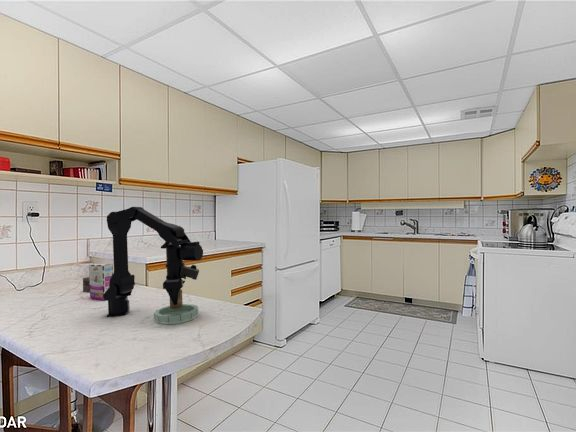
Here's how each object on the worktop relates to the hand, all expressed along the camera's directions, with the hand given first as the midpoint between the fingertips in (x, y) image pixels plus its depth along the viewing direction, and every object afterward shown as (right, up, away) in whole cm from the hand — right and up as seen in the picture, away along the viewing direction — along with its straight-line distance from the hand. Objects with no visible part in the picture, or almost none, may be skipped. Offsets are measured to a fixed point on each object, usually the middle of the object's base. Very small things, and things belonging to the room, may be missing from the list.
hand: (176, 302), depth 117 cm
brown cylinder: (0, -2, 0) cm, 2 cm away
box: (-62, -8, +51) cm, 81 cm away
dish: (0, -5, 0) cm, 5 cm away
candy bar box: (-47, -7, +33) cm, 58 cm away
